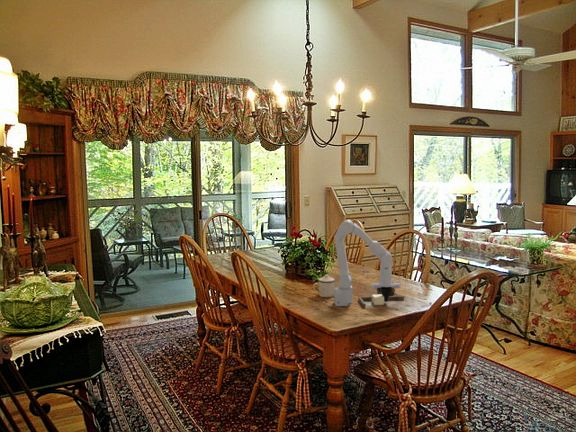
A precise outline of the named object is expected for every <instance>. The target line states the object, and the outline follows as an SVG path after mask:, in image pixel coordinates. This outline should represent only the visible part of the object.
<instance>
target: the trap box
mask: <svg viewBox="0 0 576 432" xmlns="http://www.w3.org/2000/svg"><path fill="white" fill-rule="evenodd" d="M357 302H359V304H360V305H361V306H362V309H369V308H370V309H371V308H372V309H373V308H375V309H376V305H374V304H373V303H372V296H358V301H357ZM394 305H396V306H399V305H401V306H404V307H405V308H409V307H411V305H410V304H409V303H408V302H407V301H406V300H405V296H404V295H394V296H389V297H388V301H387V302H385V301H384V305H383V306H386V308H394Z"/></svg>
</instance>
